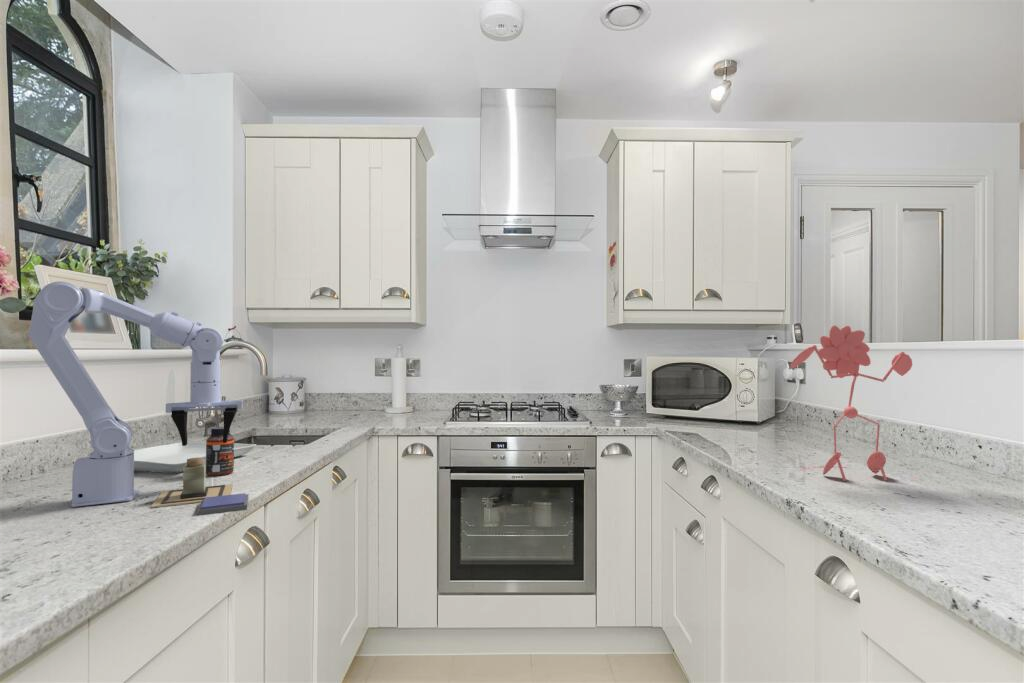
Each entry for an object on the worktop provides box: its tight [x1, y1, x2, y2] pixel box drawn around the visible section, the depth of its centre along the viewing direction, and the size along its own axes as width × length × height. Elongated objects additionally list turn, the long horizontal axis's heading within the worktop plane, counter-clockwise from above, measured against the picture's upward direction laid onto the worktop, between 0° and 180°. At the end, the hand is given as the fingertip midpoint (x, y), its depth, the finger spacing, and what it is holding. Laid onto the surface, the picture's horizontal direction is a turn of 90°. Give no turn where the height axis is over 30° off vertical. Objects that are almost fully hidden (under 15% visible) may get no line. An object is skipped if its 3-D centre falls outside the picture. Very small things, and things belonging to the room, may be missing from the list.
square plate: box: [133, 441, 257, 473], centre depth 138 cm, size 27×27×4 cm
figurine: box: [788, 325, 916, 482], centre depth 121 cm, size 15×26×35 cm, turn 90°
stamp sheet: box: [150, 483, 234, 509], centre depth 105 cm, size 13×12×1 cm
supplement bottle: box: [205, 426, 235, 477], centre depth 125 cm, size 6×6×11 cm
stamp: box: [180, 458, 209, 499], centre depth 105 cm, size 4×4×7 cm
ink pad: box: [196, 492, 249, 516], centre depth 98 cm, size 8×8×1 cm
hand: (205, 443), depth 113 cm, fingers open, 7 cm apart
